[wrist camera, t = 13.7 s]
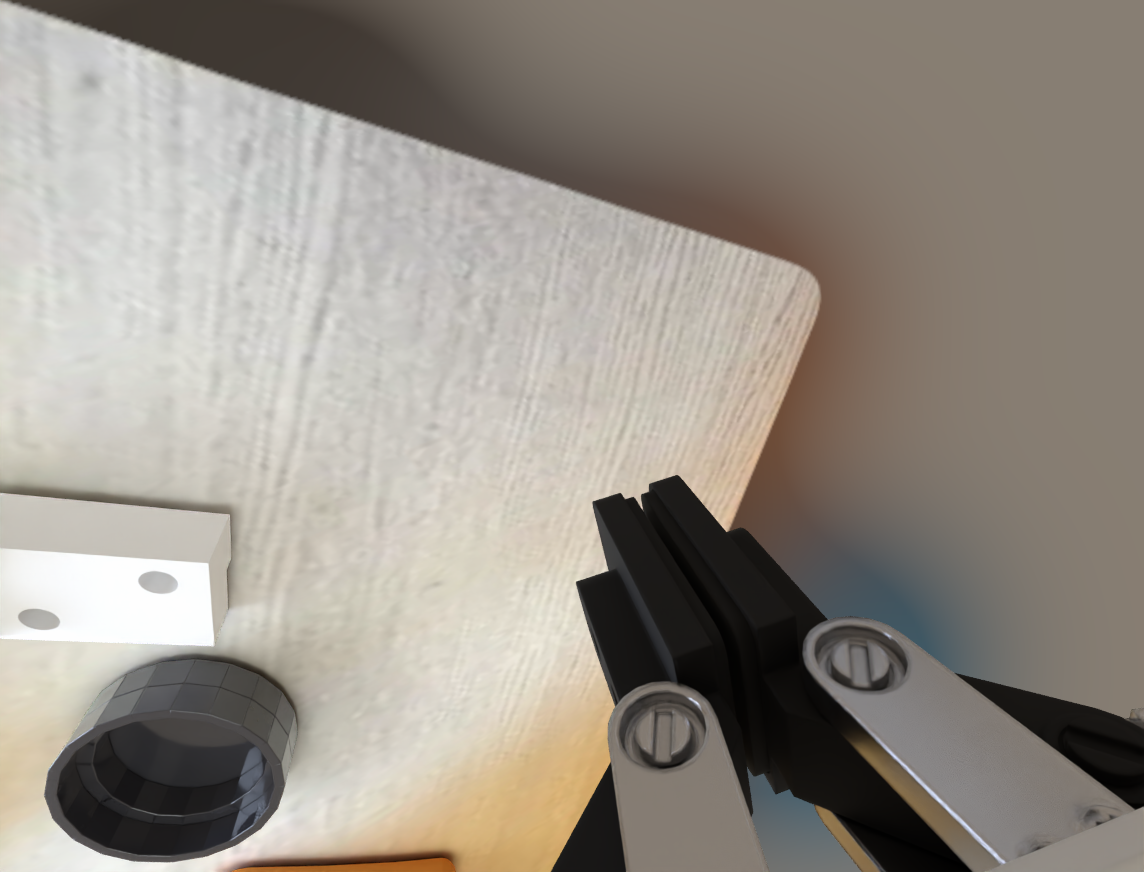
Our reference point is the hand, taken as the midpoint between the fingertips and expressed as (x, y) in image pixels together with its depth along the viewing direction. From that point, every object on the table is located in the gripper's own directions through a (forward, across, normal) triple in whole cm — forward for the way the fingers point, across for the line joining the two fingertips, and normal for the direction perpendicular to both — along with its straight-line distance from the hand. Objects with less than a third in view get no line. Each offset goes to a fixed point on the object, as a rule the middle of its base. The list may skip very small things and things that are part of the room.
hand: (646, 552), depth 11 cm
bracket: (+24, +26, +8) cm, 36 cm away
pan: (+24, +27, +21) cm, 41 cm away
